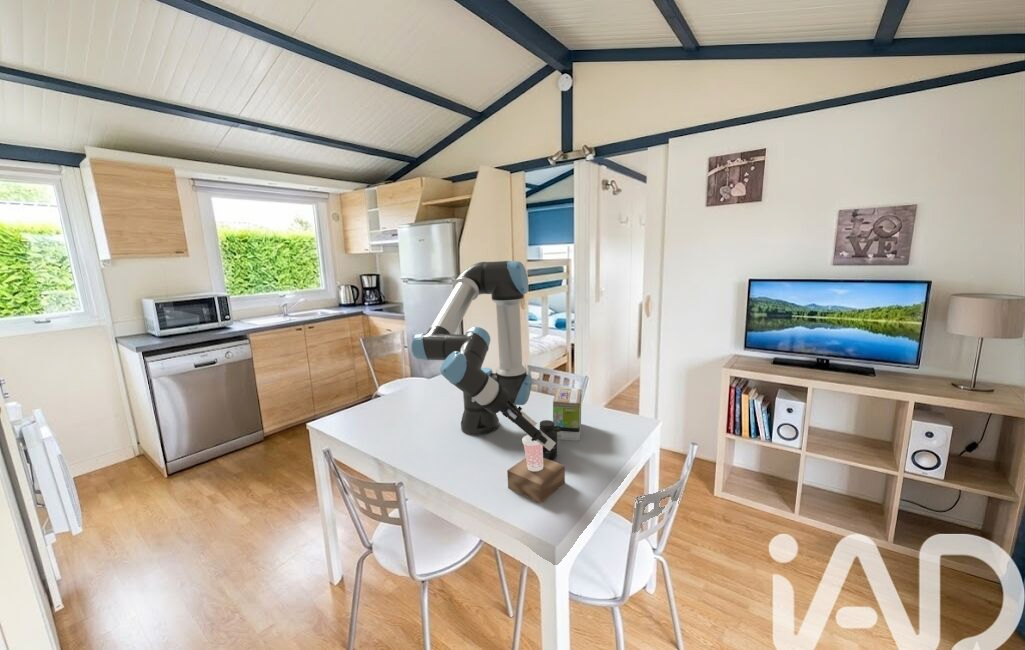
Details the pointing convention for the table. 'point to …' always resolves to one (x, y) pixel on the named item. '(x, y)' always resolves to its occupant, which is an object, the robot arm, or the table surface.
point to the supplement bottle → (549, 430)
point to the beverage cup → (533, 453)
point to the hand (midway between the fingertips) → (542, 436)
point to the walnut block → (536, 479)
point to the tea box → (567, 413)
